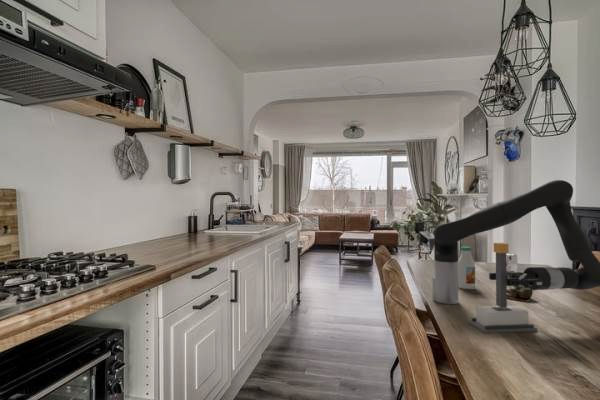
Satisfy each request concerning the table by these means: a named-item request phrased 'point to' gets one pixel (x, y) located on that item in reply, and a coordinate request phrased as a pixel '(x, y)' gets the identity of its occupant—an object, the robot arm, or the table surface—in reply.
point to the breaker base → (501, 319)
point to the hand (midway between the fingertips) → (497, 279)
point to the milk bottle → (466, 269)
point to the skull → (519, 293)
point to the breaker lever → (501, 274)
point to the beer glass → (511, 262)
